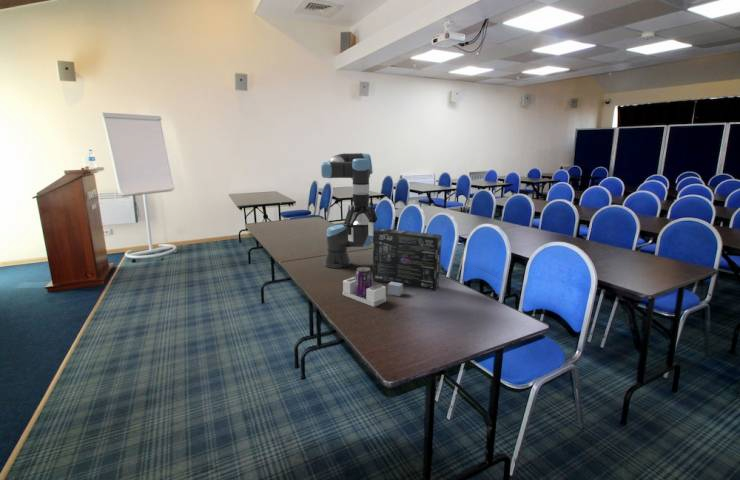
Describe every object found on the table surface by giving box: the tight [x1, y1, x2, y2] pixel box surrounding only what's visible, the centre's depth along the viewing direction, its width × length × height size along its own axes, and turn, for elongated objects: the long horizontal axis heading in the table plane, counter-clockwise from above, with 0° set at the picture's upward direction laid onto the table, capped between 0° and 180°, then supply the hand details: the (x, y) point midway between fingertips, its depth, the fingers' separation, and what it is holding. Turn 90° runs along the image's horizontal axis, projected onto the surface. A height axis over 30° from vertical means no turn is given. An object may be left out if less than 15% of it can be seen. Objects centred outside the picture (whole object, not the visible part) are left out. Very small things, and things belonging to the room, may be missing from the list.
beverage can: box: [355, 266, 373, 296], centre depth 166 cm, size 7×7×12 cm
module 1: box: [342, 276, 356, 293], centre depth 172 cm, size 8×4×6 cm, turn 137°
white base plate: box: [342, 290, 387, 308], centre depth 167 cm, size 8×20×2 cm, turn 47°
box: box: [372, 228, 442, 291], centre depth 183 cm, size 33×7×27 cm, turn 65°
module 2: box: [366, 283, 387, 302], centre depth 162 cm, size 8×4×6 cm, turn 137°
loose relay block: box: [387, 282, 404, 297], centre depth 172 cm, size 4×6×5 cm, turn 62°
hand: (361, 238), depth 173 cm, fingers open, 13 cm apart
